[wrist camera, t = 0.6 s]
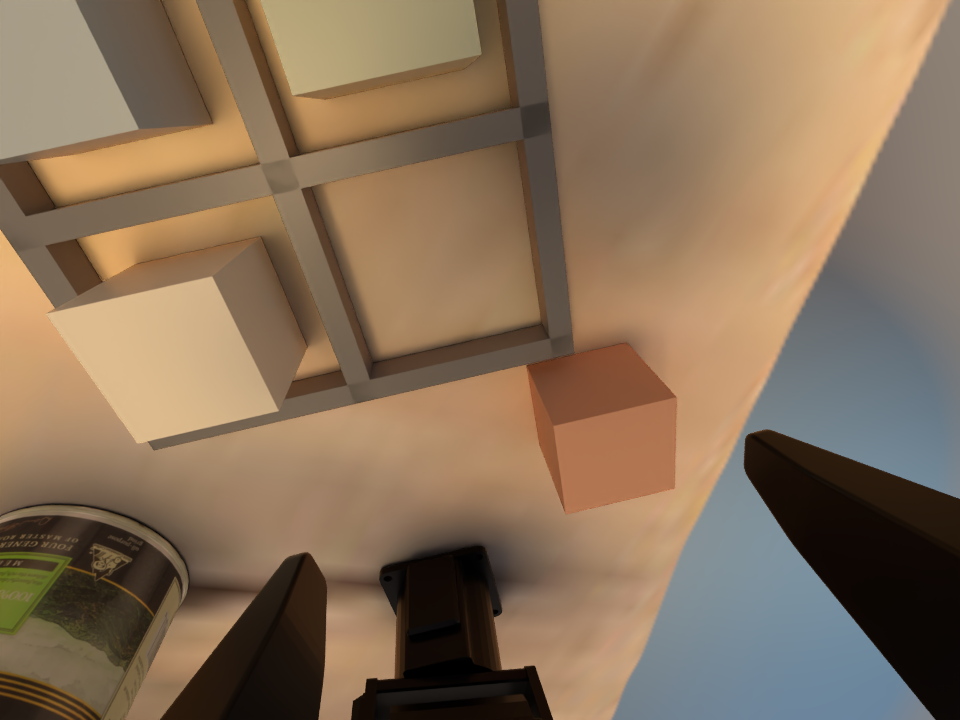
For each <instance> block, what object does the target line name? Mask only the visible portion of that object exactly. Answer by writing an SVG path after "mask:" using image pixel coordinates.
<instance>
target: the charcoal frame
mask: <svg viewBox="0 0 960 720" xmlns="http://www.w3.org/2000/svg"><path fill="white" fill-rule="evenodd" d="M260 1H261V4H262V7H263V10H264V13H265V16H266V19H267V22H268V25H269V28H270V31H271V34H272V37H273V40H274V43H275V46H276V48H277V51H278V54H279V57H280V60H281V63H282V66H283V69H284V72H285V75H286V78H287V81H288V84H289V87H290V90H291V93H292V96H299V97H307V98H316V99H324V100H326V99H330V98H335V97H339V96H344V95H348V94H353V93H358V92H362V91H367V90H371V89H376V88H380V87H385V86H389V85H394V84H399V83H403V82H408V81H412V80H417V79H421V78H426V77H431V76H435V75H440V74H444V73H449V72H453V71H458V70H463V69H465V68H466V67H467V66H468V65H470V64H471V63H472V62H473V61H474V60H476V59H477V58H478V57H479V56H480V55H482V53H481V46H480V40H479V34H478V27H477V21H476V15H475V8H474V2H473V0H260ZM196 2H197V4H198V7H199V10H200V12H201V15H202V17H203V20H204V22H205V25H206V27H207V30H208V32H209V35H210V37H211V40H212V43H213V45H214V48H215V50H216V53H217V55H218V58H219V60H220V63H221V65H222V68H223V71H224V73H225V76H226V78H227V81H228V83H229V86H230V88H231V91H232V93H233V96H234V98H235V101H236V104H237V106H238V109H239V111H240V114H241V116H242V119H243V121H244V124H245V126H246V129H247V131H248V134H249V137H250V139H251V142H252V144H253V147H254V149H255V152H256V154H257V157H258V159H259V162H260V163H258V164H254V165H249V166H245V167H240V168H236V169H231V170H227V171H222V172H218V173H213V174H209V175H204V176H199V177H195V178H190V179H186V180H181V181H177V182H172V183H168V184H163V185H159V186H154V187H150V188H145V189H141V190H136V191H132V192H127V193H122V194H118V195H113V196H109V197H104V198H100V199H95V200H91V201H86V202H82V203H77V204H73V205H68V206H64V207H59V208H55V206H54V204H53V203H52V201H51V200H50V198H49V196H48V195H47V193H46V192H45V190H44V188H43V187H42V185H41V184H40V182H39V180H38V179H37V177H36V176H35V174H34V172H33V171H32V169H31V167H30V166H29V164H28V163H27V161H30V160H38V159H46V158H53V157H61V156H69V155H74V154H79V153H83V152H88V151H93V150H97V149H102V148H106V147H111V146H115V145H120V144H125V143H129V142H134V141H138V140H143V139H147V138H152V137H157V136H161V135H166V134H170V133H175V132H179V131H184V130H189V129H193V128H198V127H202V126H207V125H211V124H213V123H212V121H211V118H210V116H209V114H208V111H207V109H206V107H205V104H204V102H203V100H202V97H201V95H200V93H199V90H198V88H197V85H196V83H195V81H194V78H193V76H192V74H191V71H190V69H189V67H188V64H187V62H186V60H185V57H184V55H183V52H182V50H181V48H180V45H179V43H178V41H177V38H176V36H175V34H174V31H173V29H172V26H171V24H170V22H169V19H168V17H167V15H166V12H165V10H164V8H163V5H162V3H161V1H160V0H0V229H1V231H2V232H3V234H4V235H5V237H6V238H7V240H8V241H9V242H10V244H11V245H12V247H13V248H14V250H15V251H16V253H17V254H18V255H19V257H20V258H21V260H22V261H23V263H24V264H25V265H26V267H27V268H28V270H29V271H30V273H31V274H32V276H33V277H34V278H35V280H36V281H37V283H38V284H39V286H40V287H41V289H42V290H43V291H44V293H45V294H46V296H47V297H48V299H49V300H50V302H51V303H52V304H53V306H54V307H55V309H53V310H52V311H50V312H48V313H46V315H47V317H48V318H49V319H50V321H51V322H52V324H53V325H54V326H55V328H56V329H57V331H58V332H59V333H60V335H61V336H62V338H63V339H64V341H65V342H66V343H67V345H68V346H69V348H70V349H71V350H72V352H73V353H74V355H75V356H76V357H77V359H78V360H79V362H80V363H81V365H82V366H83V367H84V369H85V370H86V372H87V373H88V374H89V376H90V377H91V379H92V380H93V381H94V383H95V384H96V386H97V387H98V388H99V390H100V391H101V393H102V394H103V396H104V397H105V398H106V400H107V401H108V403H109V404H110V405H111V407H112V408H113V410H114V411H115V412H116V414H117V415H118V417H119V418H120V419H121V421H122V422H123V424H124V425H125V427H126V428H127V429H128V431H129V432H130V434H131V435H132V436H133V438H134V439H135V441H136V442H137V443H142V442H147V441H148V443H149V444H150V446H151V447H152V449H153V450H158V449H162V448H166V447H171V446H175V445H179V444H184V443H188V442H192V441H197V440H201V439H205V438H210V437H214V436H218V435H223V434H227V433H231V432H236V431H240V430H244V429H249V428H253V427H257V426H262V425H266V424H270V423H275V422H279V421H283V420H287V419H292V418H296V417H300V416H305V415H309V414H313V413H318V412H322V411H326V410H331V409H335V408H339V407H344V406H348V405H352V404H357V403H361V402H365V401H370V400H374V399H378V398H383V397H387V396H391V395H396V394H400V393H404V392H409V391H413V390H417V389H422V388H426V387H430V386H435V385H439V384H443V383H448V382H452V381H456V380H461V379H465V378H469V377H474V376H478V375H482V374H487V373H491V372H495V371H500V370H504V369H508V368H513V367H517V366H521V365H526V364H530V363H534V362H539V361H543V360H547V359H552V358H556V357H560V356H565V355H569V354H573V353H574V344H573V334H572V324H571V315H570V305H569V296H568V286H567V276H566V267H565V257H564V248H563V238H562V228H561V219H560V209H559V200H558V190H557V180H556V171H555V161H554V152H553V142H552V132H551V123H550V113H549V104H548V94H547V84H546V75H545V65H544V56H543V46H542V36H541V27H540V17H539V7H538V0H497V5H498V12H499V20H500V27H501V34H502V41H503V49H504V56H505V63H506V70H507V77H508V85H509V92H510V99H511V106H512V108H507V109H503V110H498V111H494V112H489V113H485V114H480V115H476V116H471V117H467V118H462V119H458V120H453V121H449V122H444V123H439V124H435V125H430V126H426V127H421V128H417V129H412V130H408V131H403V132H399V133H394V134H390V135H385V136H381V137H376V138H372V139H367V140H362V141H358V142H353V143H349V144H344V145H340V146H335V147H331V148H326V149H322V150H317V151H313V152H308V153H304V154H299V153H298V150H297V147H296V144H295V141H294V138H293V136H292V133H291V130H290V127H289V124H288V121H287V119H286V116H285V113H284V110H283V107H282V104H281V101H280V99H279V96H278V93H277V90H276V87H275V84H274V82H273V79H272V76H271V73H270V70H269V67H268V65H267V62H266V59H265V56H264V53H263V50H262V48H261V45H260V42H259V39H258V36H257V33H256V30H255V28H254V25H253V22H252V19H251V16H250V13H249V11H248V8H247V5H246V2H245V0H196ZM513 141H516V142H517V149H518V157H519V164H520V171H521V178H522V185H523V193H524V200H525V207H526V214H527V221H528V229H529V236H530V243H531V250H532V257H533V265H534V272H535V279H536V286H537V293H538V301H539V308H540V315H541V322H542V325H538V326H534V327H529V328H525V329H521V330H516V331H512V332H508V333H503V334H499V335H495V336H490V337H486V338H482V339H477V340H473V341H469V342H464V343H460V344H455V345H451V346H447V347H442V348H438V349H434V350H429V351H425V352H421V353H416V354H412V355H408V356H403V357H399V358H394V359H390V360H386V361H381V362H377V363H372V360H371V357H370V354H369V351H368V348H367V346H366V343H365V340H364V337H363V334H362V331H361V329H360V326H359V323H358V320H357V317H356V314H355V312H354V309H353V306H352V303H351V300H350V297H349V295H348V292H347V289H346V286H345V283H344V280H343V278H342V275H341V272H340V269H339V266H338V263H337V260H336V258H335V255H334V252H333V249H332V246H331V243H330V241H329V238H328V235H327V232H326V229H325V226H324V224H323V221H322V218H321V215H320V212H319V209H318V207H317V204H316V201H315V198H314V195H313V192H312V189H311V186H315V185H320V184H324V183H329V182H333V181H338V180H342V179H347V178H351V177H356V176H360V175H365V174H369V173H374V172H378V171H383V170H387V169H392V168H396V167H401V166H405V165H410V164H414V163H419V162H423V161H428V160H432V159H437V158H441V157H446V156H450V155H455V154H459V153H464V152H468V151H473V150H477V149H482V148H486V147H491V146H495V145H500V144H504V143H509V142H513ZM270 195H273V197H274V200H275V203H276V205H277V208H278V210H279V213H280V215H281V218H282V220H283V223H284V225H285V228H286V231H287V233H288V236H289V238H290V241H291V243H292V246H293V248H294V251H295V253H296V256H297V258H298V261H299V264H300V266H301V269H302V271H303V274H304V276H305V279H306V281H307V284H308V286H309V289H310V291H311V294H312V297H313V299H314V302H315V304H316V307H317V309H318V312H319V314H320V317H321V319H322V322H323V324H324V327H325V330H326V332H327V335H328V337H329V340H330V342H331V345H332V347H333V350H334V352H335V355H336V357H337V360H338V363H339V365H340V368H341V370H342V371H338V372H333V373H329V374H325V375H320V376H316V377H312V378H307V379H303V380H299V381H294V382H292V381H293V378H294V376H295V374H296V372H297V370H298V367H299V365H300V363H301V361H302V358H303V356H304V354H305V352H306V350H307V345H306V343H305V340H304V338H303V336H302V333H301V331H300V329H299V326H298V324H297V321H296V319H295V317H294V314H293V312H292V310H291V307H290V305H289V303H288V300H287V298H286V295H285V293H284V291H283V288H282V286H281V284H280V281H279V279H278V277H277V274H276V272H275V270H274V267H273V265H272V262H271V260H270V258H269V255H268V253H267V251H266V248H265V246H264V244H263V241H262V239H261V237H256V238H252V239H247V240H243V241H238V242H234V243H229V244H225V245H221V246H216V247H212V248H207V249H203V250H198V251H194V252H189V253H185V254H180V255H176V256H171V257H167V258H162V259H158V260H153V261H149V262H145V263H140V264H136V265H133V266H131V267H129V268H128V269H126V270H124V271H122V272H120V273H119V274H117V275H115V276H113V277H111V278H110V279H108V280H106V281H104V282H101V280H100V278H99V277H98V275H97V274H96V272H95V270H94V269H93V267H92V266H91V264H90V262H89V261H88V259H87V258H86V256H85V254H84V253H83V251H82V249H81V248H80V246H79V245H78V243H77V241H76V240H75V239H77V238H81V237H86V236H90V235H95V234H99V233H104V232H108V231H113V230H117V229H122V228H126V227H131V226H135V225H140V224H144V223H149V222H153V221H158V220H162V219H167V218H171V217H176V216H180V215H185V214H189V213H194V212H198V211H203V210H207V209H212V208H216V207H221V206H225V205H230V204H234V203H239V202H243V201H248V200H252V199H257V198H261V197H266V196H270Z"/></svg>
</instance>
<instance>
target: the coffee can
mask: <svg viewBox="0 0 960 720" xmlns="http://www.w3.org/2000/svg"><path fill="white" fill-rule="evenodd" d="M188 583H189V580H188V572H187V570H186V566H185V563H184V561H183V560H182V559H181V558H180V556H179V554H178V553H177V551H176V550H175V549H174V548H173V547H172V546H171V545H170V543H168V542H167V541H166V540H165V539H164V538H163V537H161V536H160V535H158V534H157V533H155V532H154V531H153V530H151V529H149V528H147V527H146V526H144V525H142V524H140V523H138V522H136V521H134V520H132V519H129V518H127V517H124V516H121V515H118V514H115V513H112V512H108V511H104V510H100V509H95V508H90V507H84V506H74V505H42V506H36V507H31V508H24V509H20V510H16V511H13V512H10V513H7V514H5V515H3V516H1V517H0V720H125V718H126V716H127V714H128V712H129V710H130V708H131V706H132V703H133V701H134V699H135V697H136V695H137V693H138V691H139V689H140V687H141V685H142V683H143V681H144V679H145V677H146V675H147V672H148V670H149V668H150V666H151V664H152V662H153V660H154V658H155V656H156V654H157V651H158V649H159V647H160V645H161V643H162V641H163V639H164V637H165V634H166V632H167V630H168V628H169V626H170V624H171V622H172V620H173V618H174V616H175V613H176V612H177V610H178V608H179V606H180V605H181V604H182V602H183V600H184V598H185V596H186V594H187V590H188Z"/></svg>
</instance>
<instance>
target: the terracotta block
mask: <svg viewBox="0 0 960 720" xmlns="http://www.w3.org/2000/svg"><path fill="white" fill-rule="evenodd" d="M527 371H528V377H529V383H530V389H531V395H532V401H533V407H534V414H535V420H536V426H537V432H538V438H539V444H540V447H541V450H542V452H543V455H544V458H545V460H546V463H547V466H548V468H549V471H550V474H551V476H552V479H553V482H554V484H555V487H556V490H557V492H558V495H559V498H560V500H561V503H562V505H563V508H564V511H565V513H566V514H570V513H574V512H578V511H582V510H587V509H591V508H595V507H599V506H603V505H608V504H612V503H616V502H620V501H624V500H629V499H633V498H637V497H641V496H645V495H650V494H654V493H658V492H662V491H667V490H671V489H675V451H676V407H677V397H676V396H675V395H674V394H673V393H672V392H671V390H670V389H669V388H668V387H667V386H666V385H665V384H664V383H663V382H662V381H661V380H660V378H659V377H658V376H657V375H656V374H655V373H654V372H653V371H652V370H651V369H650V368H649V366H648V365H647V364H646V363H645V362H644V361H643V360H642V359H641V358H640V357H639V356H638V354H637V353H636V352H635V351H634V350H633V349H632V348H631V347H630V346H629V345H628V343H623V344H618V345H614V346H610V347H605V348H601V349H597V350H592V351H588V352H584V353H579V354H575V355H571V356H566V357H562V358H558V359H553V360H549V361H545V362H540V363H536V364H532V365H527Z"/></svg>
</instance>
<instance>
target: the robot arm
mask: <svg viewBox="0 0 960 720" xmlns="http://www.w3.org/2000/svg"><path fill="white" fill-rule="evenodd" d="M744 452H745V453H744V469H745V472H746V474H747V476H748V478H749V480H750V481H751V483H752V484H753V486H754V487H755V489H756V490H757V492H758V493H759V495H760V496H761V498H762V499H763V501H764V502H765V504H766V505H767V507H768V508H769V510H770V511H771V513H772V514H773V516H774V517H775V519H776V520H777V522H778V523H779V525H780V526H781V528H782V529H783V531H784V532H785V534H786V535H787V537H788V538H789V540H790V541H791V542H792V544H793V545H794V546H795V548H796V549H797V550H798V552H799V553H800V554H801V555H802V556H803V558H804V559H805V560H806V561H807V563H808V564H809V565H810V566H811V568H812V569H813V570H814V571H815V573H816V574H817V575H818V576H819V577H820V579H821V580H822V581H823V582H824V584H826V586H827V587H828V588H829V590H830V591H831V592H832V593H833V595H834V596H835V597H836V598H837V599H838V601H839V602H840V603H841V604H842V606H843V607H844V608H845V609H846V611H847V612H848V613H849V614H850V615H851V617H852V618H853V619H854V620H855V622H856V623H857V624H858V625H859V626H860V628H861V629H862V630H863V631H864V633H865V634H866V635H867V636H868V638H869V639H870V640H871V641H872V642H873V643H874V645H875V646H876V647H877V649H878V650H879V651H880V652H881V653H882V655H883V656H884V657H885V658H886V660H887V661H888V662H889V663H890V664H891V666H892V667H893V668H894V669H895V671H896V672H897V673H898V674H899V675H900V677H901V678H902V679H903V680H904V682H905V683H906V684H907V685H908V687H909V688H910V689H911V690H912V692H913V693H914V694H915V695H916V696H917V697H918V699H919V700H920V701H921V703H922V704H923V705H924V706H925V707H926V709H927V710H928V711H929V712H930V714H931V715H932V716H933V717H934V718H935V720H960V499H958V498H956V497H953V496H950V495H947V494H945V493H942V492H939V491H936V490H934V489H931V488H928V487H925V486H923V485H920V484H917V483H914V482H912V481H909V480H906V479H903V478H901V477H898V476H895V475H892V474H890V473H887V472H884V471H882V470H879V469H876V468H874V467H871V466H868V465H865V464H863V463H860V462H857V461H854V460H852V459H849V458H846V457H843V456H841V455H838V454H835V453H832V452H830V451H827V450H824V449H821V448H819V447H816V446H813V445H811V444H808V443H805V442H802V441H799V440H797V439H794V438H791V437H789V436H786V435H783V434H780V433H778V432H775V431H772V430H762V431H757V432H754V433H750V434H748V435H747V436H746V438H745V451H744ZM379 580H380V583H381V585H382V587H383V589H384V591H385V593H386V595H387V597H388V600H389V602H390V604H391V606H392V608H393V610H394V612H395V615H396V617H397V622H396V651H395V679H385V680H377V678H371V679H367V680H366V688H365V693H363V695H362V696H360V697H359V698H357V699H356V700H354V701H353V707H352V716H351V720H553V718H552V715H551V712H550V709H549V706H548V703H547V700H546V697H545V694H544V691H543V688H542V685H541V682H540V680H539V677H538V674H537V671H536V668H535V666H524V668H522V669H510V670H502V668H501V661H500V655H499V648H498V642H497V636H496V629H495V623H494V617H496V616H499V615H500V614H501V613H502V606H501V602H500V599H499V595H498V591H497V588H496V584H495V580H494V577H493V573H492V570H491V566H490V562H489V559H488V555H487V552H486V549H485V547H483V546H474V547H470V548H466V549H462V550H457V551H453V552H449V553H445V554H441V555H436V556H432V557H428V558H424V559H420V560H415V561H411V562H407V563H403V564H398V565H394V566H390V567H386V568H383V569H382V570H381V571H380V576H379ZM326 605H327V585H326V581H325V578H324V576H323V574H322V572H321V571H320V569H319V567H318V565H317V564H316V562H315V560H314V559H313V557H312V556H311V554H309V553H308V552H304V553H300V554H297V555H293V556H290V557H288V558H286V559H285V560H284V561H283V563H282V564H281V565H280V567H279V568H278V569H277V570H276V572H275V573H274V574H273V576H272V577H271V578H270V579H269V581H268V582H267V583H266V585H265V586H264V587H263V588H262V590H261V591H260V592H259V593H258V595H257V596H256V597H255V599H254V600H253V601H252V602H251V604H250V605H249V606H248V608H247V609H246V610H245V611H244V613H243V614H242V615H241V617H240V618H239V619H238V620H237V622H236V623H235V624H234V626H233V627H232V628H231V629H230V631H229V632H228V633H227V634H226V636H225V637H224V638H223V640H222V641H221V642H220V643H219V645H218V646H217V647H216V649H215V650H214V651H213V652H212V654H211V655H210V656H209V658H208V659H207V660H206V661H205V663H204V664H203V665H202V666H201V668H200V669H199V670H198V672H197V673H196V674H195V675H194V677H193V678H192V679H191V681H190V682H189V683H188V684H187V686H186V687H185V688H184V690H183V691H182V692H181V693H180V695H179V696H178V697H177V698H176V700H175V701H174V702H173V704H172V705H171V706H170V707H169V709H168V710H167V711H166V713H165V714H164V715H163V716H162V718H161V719H160V720H318V718H319V710H320V702H321V695H322V687H323V678H324V668H325V642H326Z"/></svg>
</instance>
